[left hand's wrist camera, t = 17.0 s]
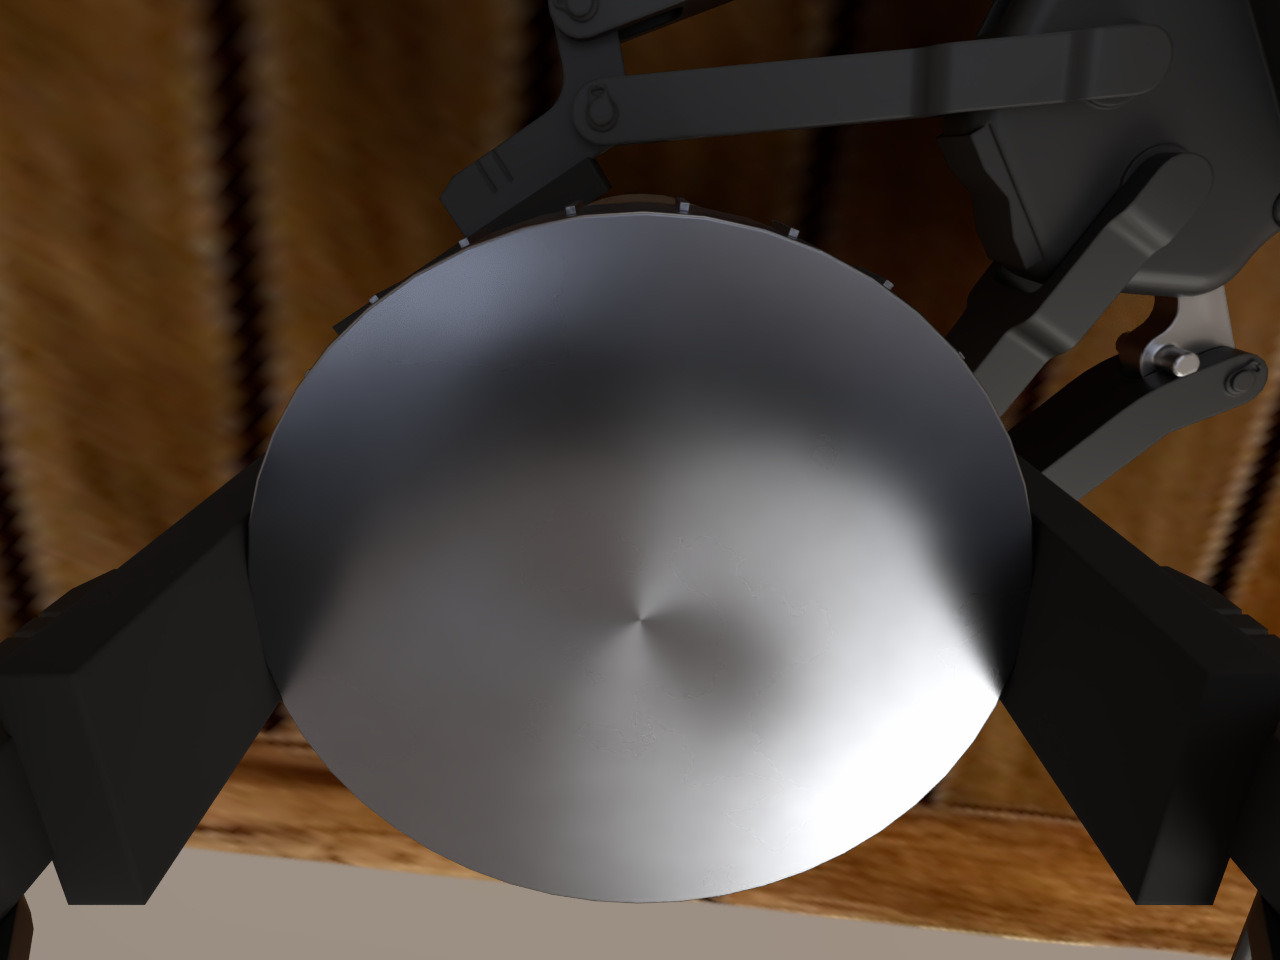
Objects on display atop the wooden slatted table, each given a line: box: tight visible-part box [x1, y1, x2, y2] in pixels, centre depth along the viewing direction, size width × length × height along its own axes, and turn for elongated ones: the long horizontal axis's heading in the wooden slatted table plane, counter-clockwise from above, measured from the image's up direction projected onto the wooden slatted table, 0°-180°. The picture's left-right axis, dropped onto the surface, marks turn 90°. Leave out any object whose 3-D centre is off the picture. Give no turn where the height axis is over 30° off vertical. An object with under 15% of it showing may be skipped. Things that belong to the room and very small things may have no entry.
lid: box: [247, 197, 1034, 903], centre depth 11 cm, size 10×10×2 cm
